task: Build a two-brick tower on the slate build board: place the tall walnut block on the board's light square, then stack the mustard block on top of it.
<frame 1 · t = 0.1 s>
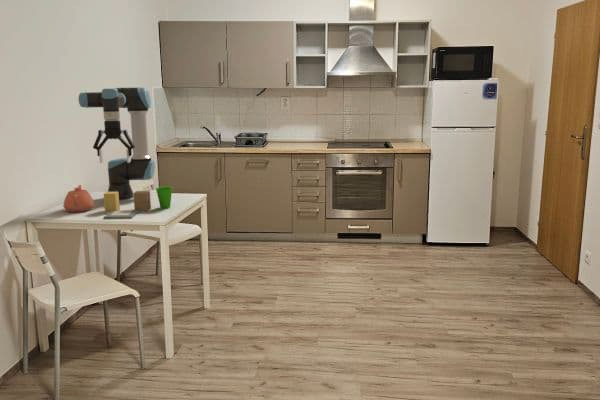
hand: (115, 162, 276), 28 cm above the table, fingers open, 13 cm apart
orange rounded lump: (79, 210, 298), on the table
mustard block: (112, 210, 294), on the table
walnut block: (142, 210, 296), on the table
build board: (121, 215, 284), on the table
cup: (165, 208, 301), on the table
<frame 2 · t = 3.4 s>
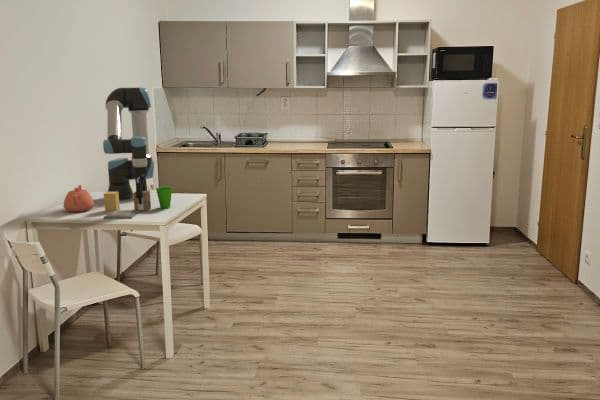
hand: (142, 208, 296), 1 cm above the table, fingers closed on walnut block, 7 cm apart
walnut block: (142, 210, 296), on the table, touching gripper
everything else where it was.
when the fingers open (4 cm above the table, at t = 8.2 s): walnut block drops 2 cm, resting on build board.
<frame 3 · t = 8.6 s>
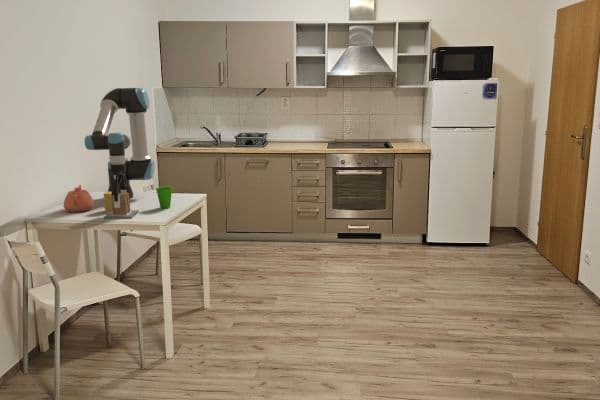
hand: (120, 204, 283), 6 cm above the table, fingers open, 12 cm apart
walnut block: (121, 213, 284), point 1 cm above the table, touching build board
everything else where it was.
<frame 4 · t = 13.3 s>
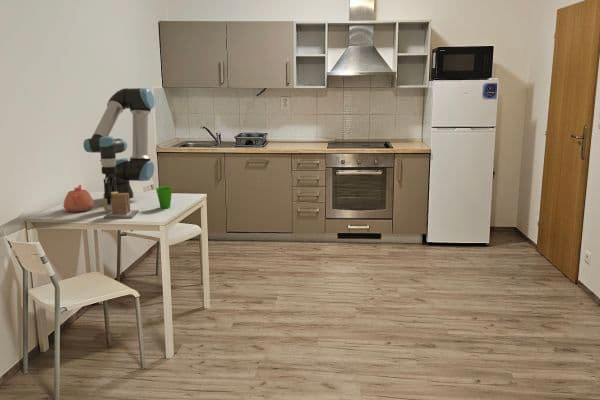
hand: (111, 208, 293), 1 cm above the table, fingers closed on mustard block, 6 cm apart
mustard block: (112, 211, 294), on the table, touching gripper
everything else where it was.
when the fingers open (14 cm above the table, at t = 17.9 s): mustard block drops 2 cm, resting on walnut block.
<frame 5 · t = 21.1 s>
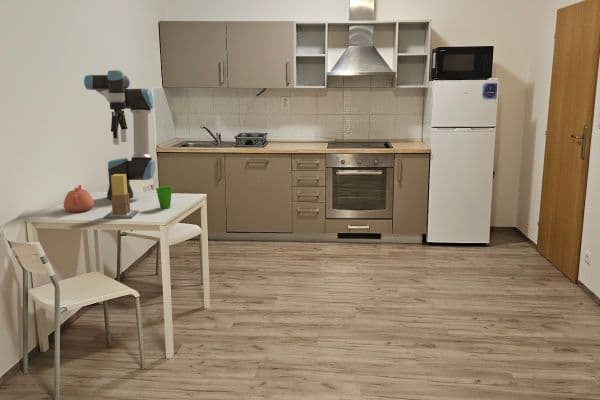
hand: (120, 143, 283), 37 cm above the table, fingers open, 13 cm apart
mustard block: (120, 194, 282), point 11 cm above the table, touching walnut block
walnut block: (121, 213, 284), point 1 cm above the table, touching build board, mustard block
everything else where it was.
at the end: walnut block inside the target area on the build board (0.0 cm from its centre), point 1.2 cm above the build board's base; mustard block 0.1 cm off-centre on the walnut block, point 10.0 cm above the walnut block's base; mustard block tilted 0° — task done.
